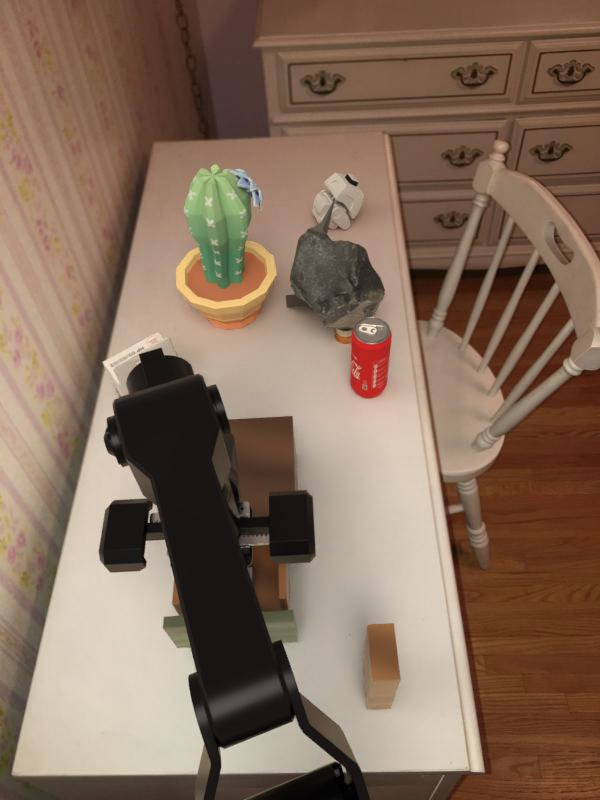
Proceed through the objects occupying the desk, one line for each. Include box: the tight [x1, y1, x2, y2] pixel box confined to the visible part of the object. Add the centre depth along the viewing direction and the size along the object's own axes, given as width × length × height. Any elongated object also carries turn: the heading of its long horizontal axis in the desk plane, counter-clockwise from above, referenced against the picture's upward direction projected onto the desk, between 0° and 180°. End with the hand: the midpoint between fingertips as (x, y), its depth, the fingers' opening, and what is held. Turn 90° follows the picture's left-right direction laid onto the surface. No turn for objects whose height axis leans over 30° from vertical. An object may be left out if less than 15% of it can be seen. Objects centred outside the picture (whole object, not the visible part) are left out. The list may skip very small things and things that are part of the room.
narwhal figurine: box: [285, 197, 386, 345], centre depth 92 cm, size 14×15×18 cm
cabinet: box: [228, 415, 299, 517], centre depth 79 cm, size 15×15×9 cm
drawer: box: [162, 535, 298, 649], centre depth 71 cm, size 18×13×7 cm
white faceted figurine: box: [311, 172, 365, 231], centre depth 111 cm, size 6×7×10 cm
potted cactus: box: [175, 164, 278, 331], centre depth 93 cm, size 15×15×25 cm
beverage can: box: [349, 316, 393, 400], centre depth 88 cm, size 5×5×12 cm
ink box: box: [102, 331, 179, 398], centre depth 86 cm, size 8×5×15 cm, turn 127°
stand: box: [362, 622, 402, 711], centre depth 64 cm, size 5×2×13 cm, turn 2°
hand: (223, 565), depth 64 cm, fingers closed
